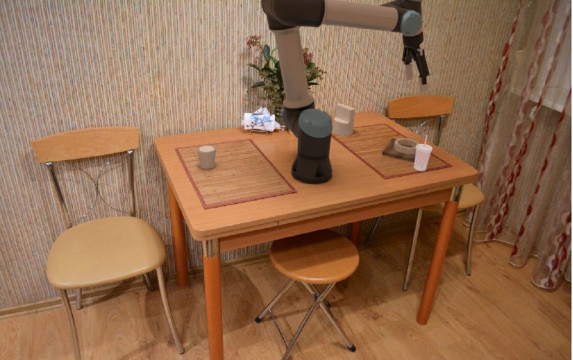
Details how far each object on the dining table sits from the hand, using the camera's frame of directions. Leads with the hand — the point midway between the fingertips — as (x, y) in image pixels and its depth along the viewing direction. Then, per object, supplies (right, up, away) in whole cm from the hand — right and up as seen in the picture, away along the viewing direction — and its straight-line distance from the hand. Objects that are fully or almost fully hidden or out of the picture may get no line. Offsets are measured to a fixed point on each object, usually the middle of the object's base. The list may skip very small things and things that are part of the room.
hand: (416, 85), depth 178 cm
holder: (-2, -26, +9) cm, 27 cm away
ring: (-2, -25, +8) cm, 26 cm away
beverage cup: (0, -33, -4) cm, 33 cm away
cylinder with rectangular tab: (-26, -16, +25) cm, 40 cm away
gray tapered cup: (-81, -32, -10) cm, 88 cm away
